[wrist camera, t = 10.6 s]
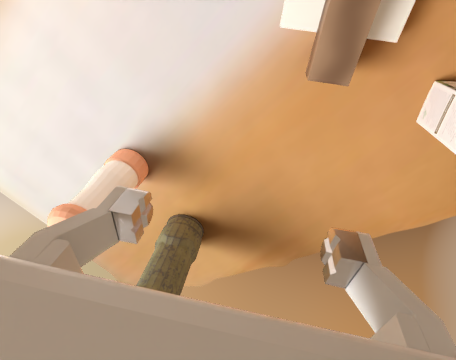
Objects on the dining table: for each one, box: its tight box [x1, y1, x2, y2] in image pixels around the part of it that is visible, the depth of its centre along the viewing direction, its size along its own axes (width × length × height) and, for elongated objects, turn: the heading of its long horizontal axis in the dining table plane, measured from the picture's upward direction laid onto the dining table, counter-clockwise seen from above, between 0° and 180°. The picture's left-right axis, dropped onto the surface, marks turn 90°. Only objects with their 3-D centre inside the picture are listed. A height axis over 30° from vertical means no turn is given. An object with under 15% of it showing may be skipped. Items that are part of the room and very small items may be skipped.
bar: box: [306, 0, 381, 86], centre depth 24 cm, size 4×15×4 cm, turn 174°
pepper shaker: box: [47, 149, 149, 227], centre depth 40 cm, size 7×7×19 cm
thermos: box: [136, 215, 204, 296], centre depth 42 cm, size 9×12×35 cm
